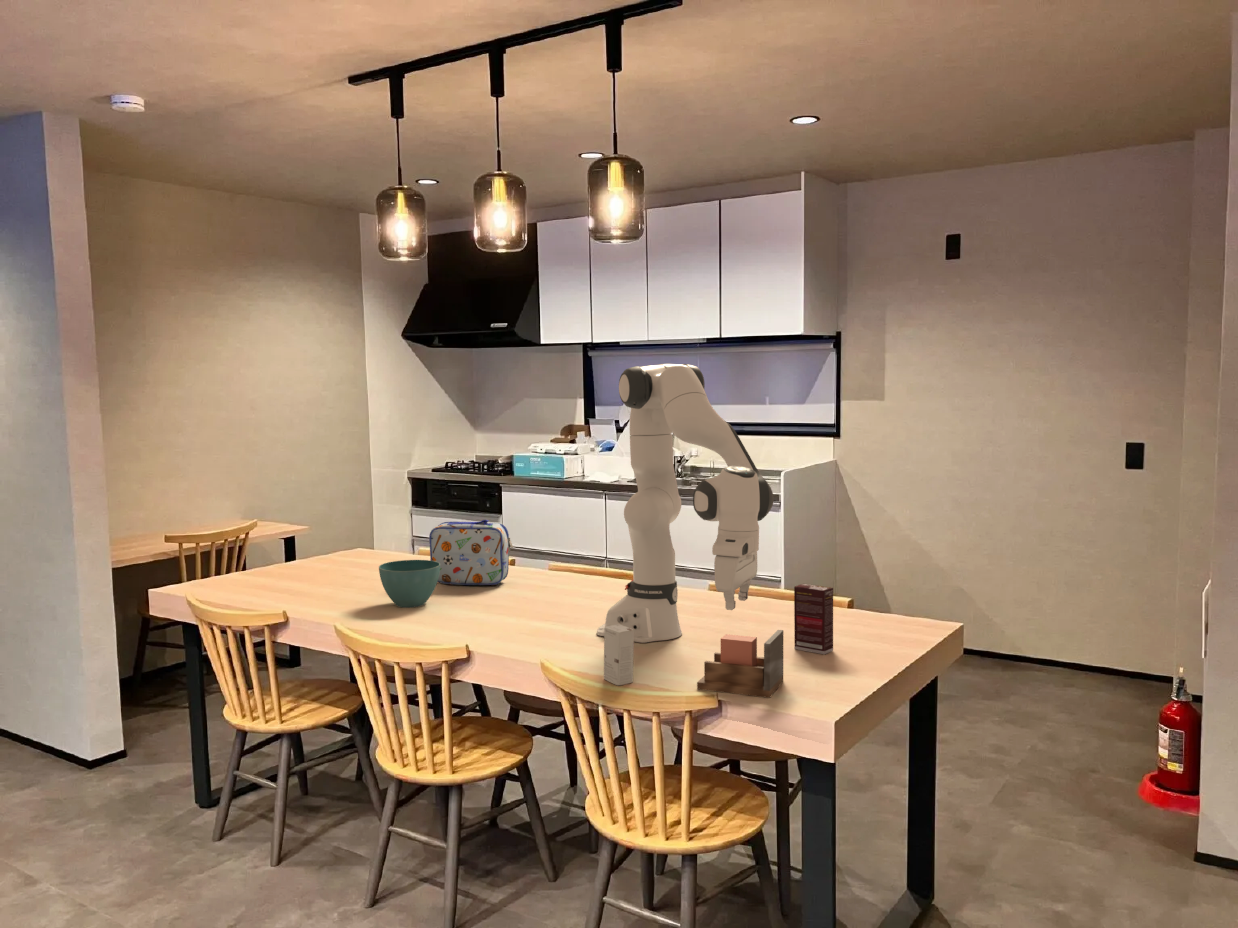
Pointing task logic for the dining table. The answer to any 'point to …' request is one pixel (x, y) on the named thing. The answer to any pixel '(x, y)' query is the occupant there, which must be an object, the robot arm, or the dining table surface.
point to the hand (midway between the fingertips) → (736, 604)
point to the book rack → (747, 672)
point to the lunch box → (470, 552)
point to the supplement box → (813, 618)
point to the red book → (739, 650)
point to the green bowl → (409, 581)
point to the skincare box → (618, 654)
